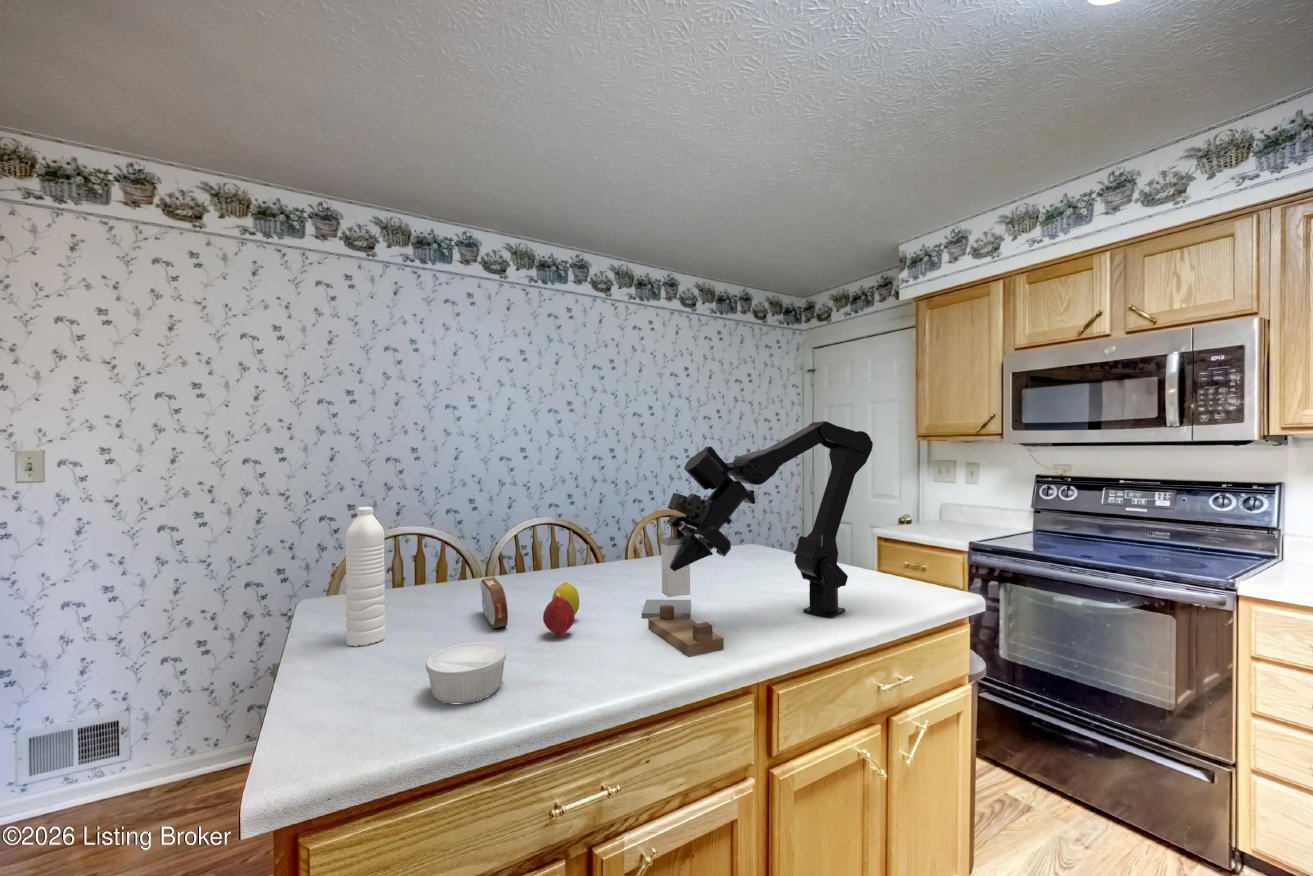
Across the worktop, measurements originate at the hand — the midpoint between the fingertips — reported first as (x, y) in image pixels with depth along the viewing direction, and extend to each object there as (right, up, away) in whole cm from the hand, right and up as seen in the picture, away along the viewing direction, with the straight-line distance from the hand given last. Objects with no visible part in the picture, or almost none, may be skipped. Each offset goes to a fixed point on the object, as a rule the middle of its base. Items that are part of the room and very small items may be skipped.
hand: (668, 567), depth 105 cm
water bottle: (-56, -13, -2) cm, 58 cm away
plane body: (+3, -12, -3) cm, 13 cm away
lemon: (-21, -13, +8) cm, 26 cm away
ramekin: (-30, -13, -23) cm, 40 cm away
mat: (0, -13, +14) cm, 19 cm away
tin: (-36, -13, +8) cm, 39 cm away
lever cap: (+1, -5, 0) cm, 5 cm away
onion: (-21, -13, -1) cm, 24 cm away
